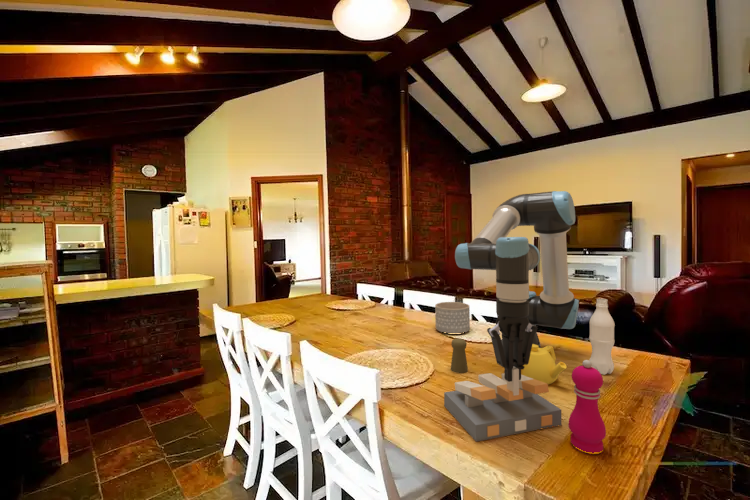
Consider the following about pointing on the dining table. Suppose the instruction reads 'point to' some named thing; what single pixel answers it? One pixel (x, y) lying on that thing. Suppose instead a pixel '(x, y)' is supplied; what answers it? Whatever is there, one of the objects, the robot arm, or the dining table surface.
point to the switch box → (501, 414)
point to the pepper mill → (587, 409)
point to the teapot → (543, 365)
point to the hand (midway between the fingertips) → (512, 392)
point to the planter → (452, 317)
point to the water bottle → (602, 338)
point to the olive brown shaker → (459, 356)
